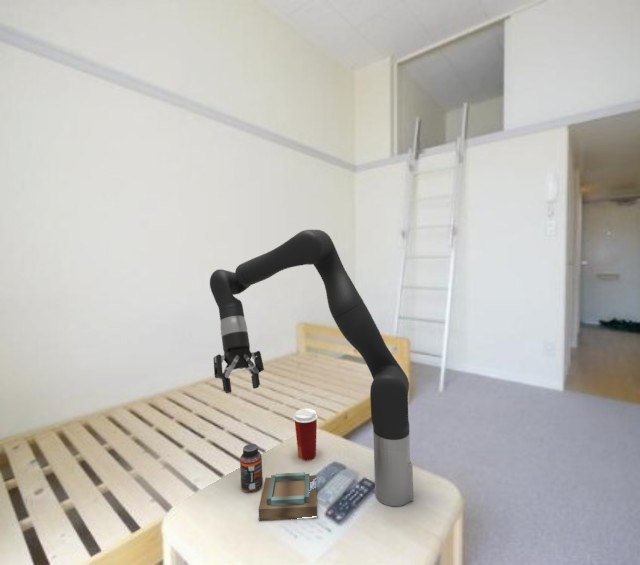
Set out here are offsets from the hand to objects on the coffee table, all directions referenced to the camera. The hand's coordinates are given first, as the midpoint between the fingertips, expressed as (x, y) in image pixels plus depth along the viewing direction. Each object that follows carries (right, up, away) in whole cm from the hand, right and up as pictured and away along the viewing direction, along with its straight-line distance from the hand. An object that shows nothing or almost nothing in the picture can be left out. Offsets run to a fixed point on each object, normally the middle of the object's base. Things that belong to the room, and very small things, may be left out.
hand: (242, 390), depth 96 cm
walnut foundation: (+14, -27, -7) cm, 31 cm away
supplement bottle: (+3, -27, 0) cm, 27 cm away
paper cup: (+17, -25, +14) cm, 34 cm away
